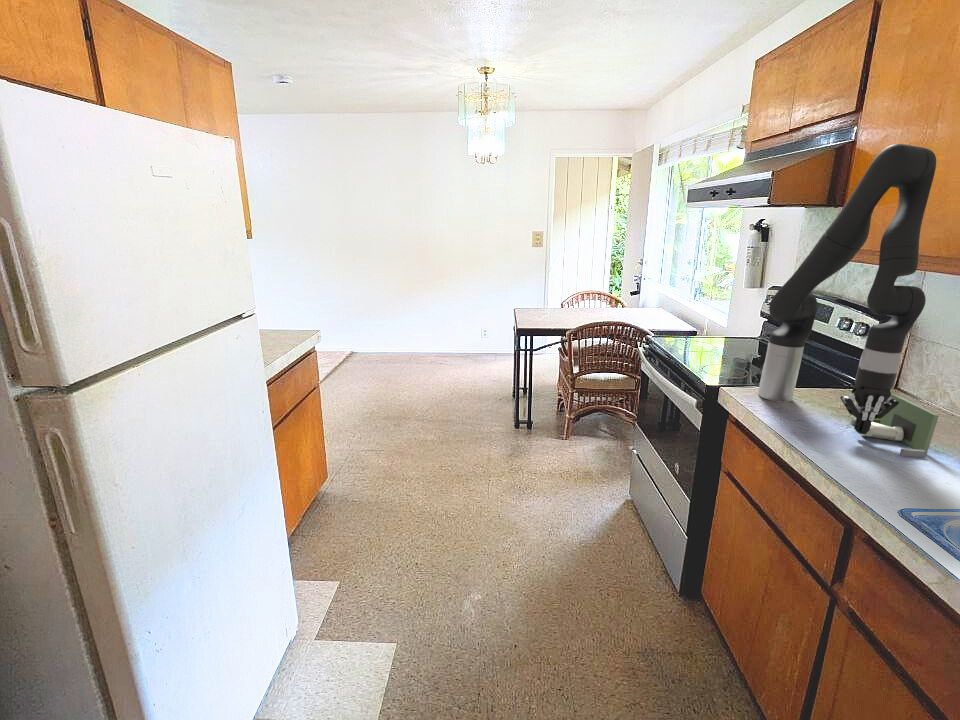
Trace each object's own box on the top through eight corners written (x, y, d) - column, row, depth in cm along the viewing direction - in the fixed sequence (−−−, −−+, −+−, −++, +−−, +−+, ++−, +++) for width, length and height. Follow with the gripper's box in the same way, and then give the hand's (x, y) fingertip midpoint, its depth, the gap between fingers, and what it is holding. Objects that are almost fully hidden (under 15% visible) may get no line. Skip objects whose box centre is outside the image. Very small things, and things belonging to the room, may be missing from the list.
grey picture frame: (850, 423, 135) (859, 389, 132) (877, 424, 134) (887, 390, 131) (902, 456, 117) (913, 417, 114) (933, 457, 116) (945, 418, 114)
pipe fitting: (853, 430, 132) (863, 438, 126) (856, 416, 131) (867, 424, 125) (889, 435, 130) (901, 444, 123) (892, 421, 129) (905, 429, 122)
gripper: (895, 364, 124) (877, 428, 128) (840, 361, 124) (824, 425, 129) (918, 373, 116) (898, 440, 121) (859, 370, 117) (842, 437, 122)
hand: (860, 432), depth 125 cm, fingers closed
